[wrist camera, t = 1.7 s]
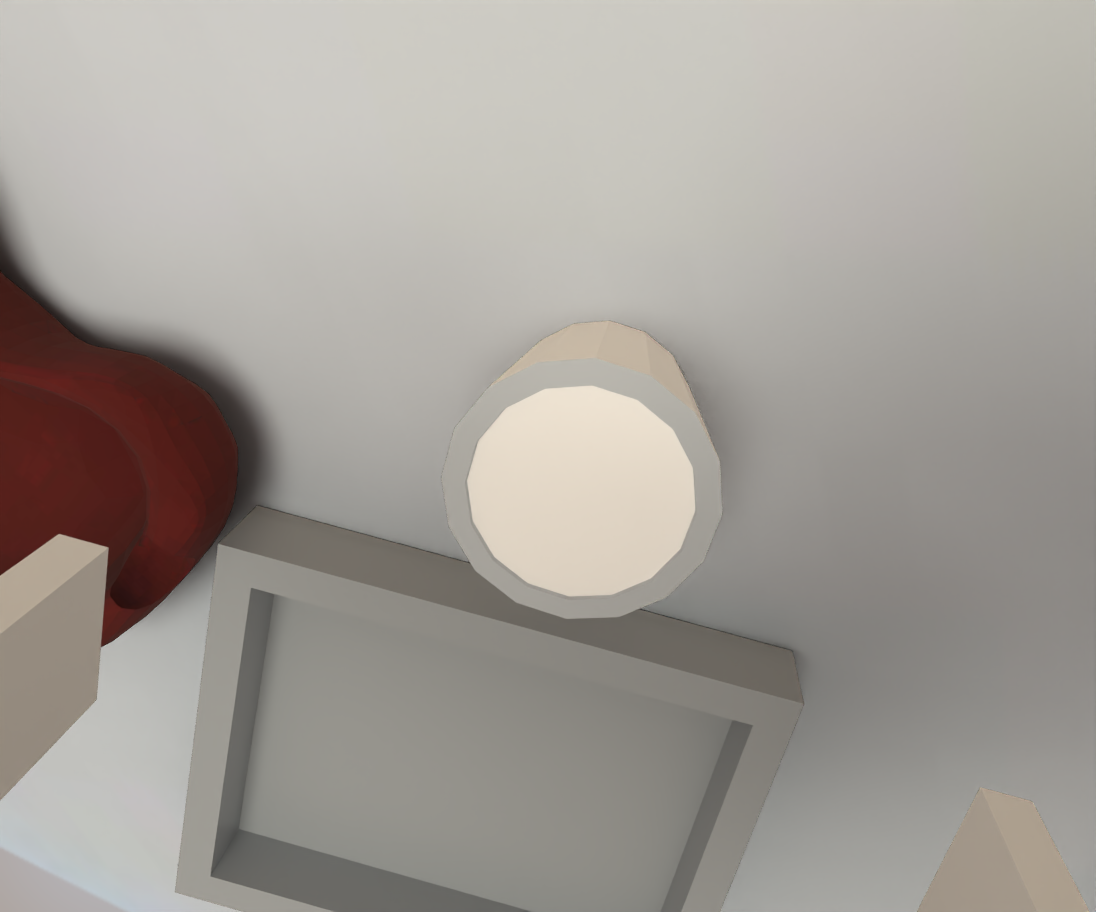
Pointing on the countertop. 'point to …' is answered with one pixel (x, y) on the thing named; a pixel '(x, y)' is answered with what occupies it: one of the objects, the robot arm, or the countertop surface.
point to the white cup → (585, 475)
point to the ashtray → (107, 459)
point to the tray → (463, 740)
